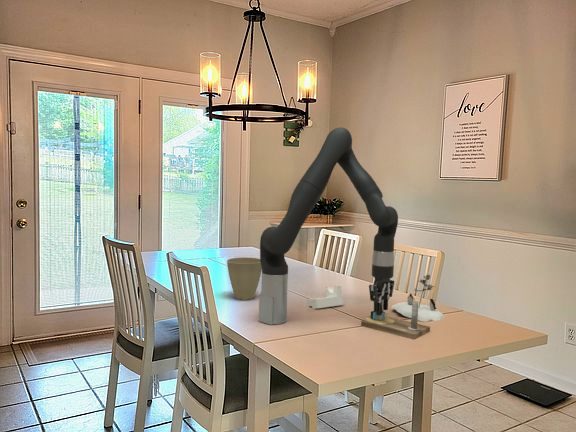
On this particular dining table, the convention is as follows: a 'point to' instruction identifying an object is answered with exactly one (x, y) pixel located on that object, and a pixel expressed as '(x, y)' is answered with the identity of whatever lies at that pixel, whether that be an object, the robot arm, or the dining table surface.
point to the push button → (380, 310)
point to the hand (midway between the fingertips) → (380, 310)
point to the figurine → (420, 306)
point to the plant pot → (244, 276)
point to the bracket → (328, 298)
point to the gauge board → (399, 325)
